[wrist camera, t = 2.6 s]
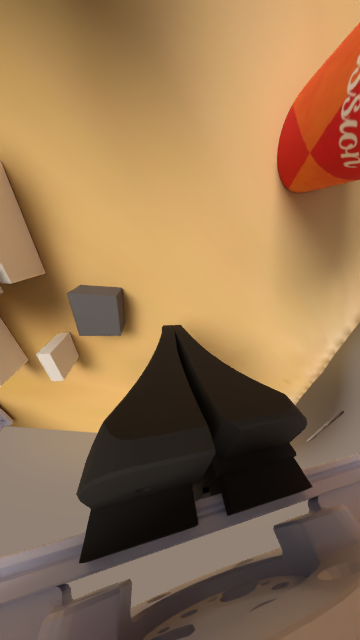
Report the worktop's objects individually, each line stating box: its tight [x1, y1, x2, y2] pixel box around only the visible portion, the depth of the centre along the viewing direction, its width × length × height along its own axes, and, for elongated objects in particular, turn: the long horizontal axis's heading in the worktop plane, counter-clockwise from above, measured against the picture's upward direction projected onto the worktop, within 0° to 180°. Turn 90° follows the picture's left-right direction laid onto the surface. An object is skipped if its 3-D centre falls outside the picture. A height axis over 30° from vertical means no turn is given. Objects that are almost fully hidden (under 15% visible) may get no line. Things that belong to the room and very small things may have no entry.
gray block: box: [67, 285, 125, 336], centre depth 13 cm, size 4×4×2 cm
